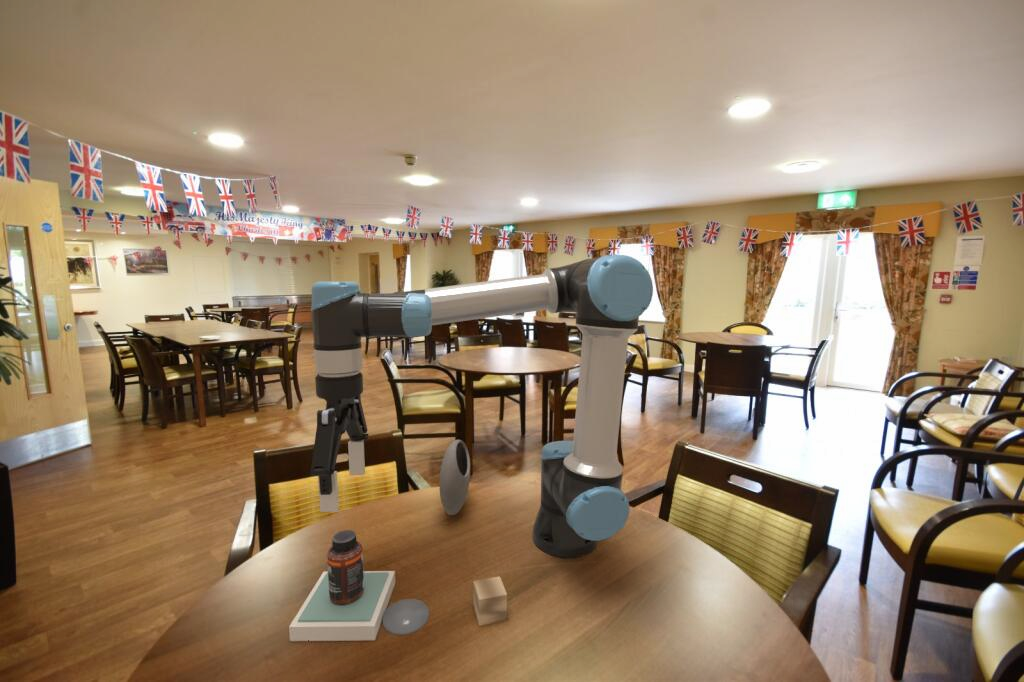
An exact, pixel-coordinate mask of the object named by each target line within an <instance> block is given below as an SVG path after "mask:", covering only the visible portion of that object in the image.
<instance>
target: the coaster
mask: <svg viewBox="0 0 1024 682" xmlns="http://www.w3.org/2000/svg"><path fill="white" fill-rule="evenodd" d="M429 613H430V610H429V607H428V605H427V604H426V603H425V602H423V601H422V600H420V599H416V598H405V599H400V600H398V601H396V602H393V603H392V604H390V605H389V606H387V608H386V611H385V612H384V614H383V619H382V626H383V628H384V629H385V631H387V633H390V634H391V635H393V636H407V635H411V634H413V633H416V632H417V631H419V630H420V629H422V628H423V627H424V626H425V624H427V622H428V620H429V616H430V614H429Z"/></svg>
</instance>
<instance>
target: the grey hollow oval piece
mask: <svg viewBox="0 0 1024 682" xmlns="http://www.w3.org/2000/svg"><path fill="white" fill-rule="evenodd" d="M470 460H471V459H470V453H469V449H468V447H467V445H466V443H465V442H464V441H463V440H461V439H454V440H453V441H452V442H451V443H450V444H449V446H448V447H447V448H446V450H445V453H444V456H443V458H442V462H441V467H440V473H439V496H440V497H439V498H440V501H441V505H442V508H443V510H444V511H445V513H446V514H448V515H449V516H456V515H457V514H458V513H459V512H460V511H461V510H462V508H463V506H464V504H465V502H466V499H467V495H468V492H469V488H470V487H469V486H470V480H471V478H470V477H471V461H470Z"/></svg>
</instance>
